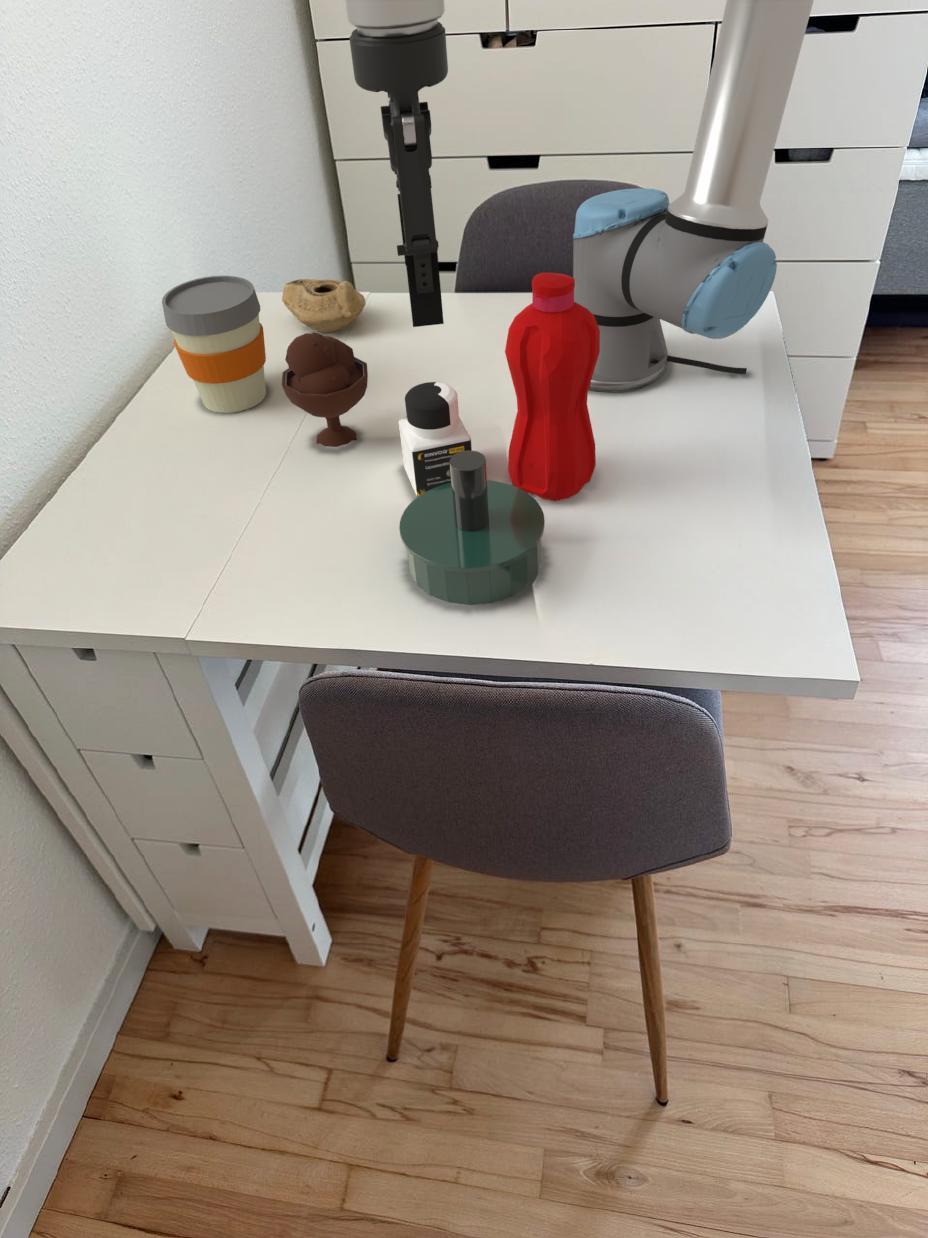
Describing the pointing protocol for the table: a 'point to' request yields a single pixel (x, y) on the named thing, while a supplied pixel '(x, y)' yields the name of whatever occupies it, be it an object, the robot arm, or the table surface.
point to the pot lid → (471, 520)
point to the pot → (477, 580)
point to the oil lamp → (323, 303)
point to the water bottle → (552, 390)
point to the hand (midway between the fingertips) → (423, 291)
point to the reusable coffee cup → (219, 340)
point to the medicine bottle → (431, 435)
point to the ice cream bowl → (325, 382)
